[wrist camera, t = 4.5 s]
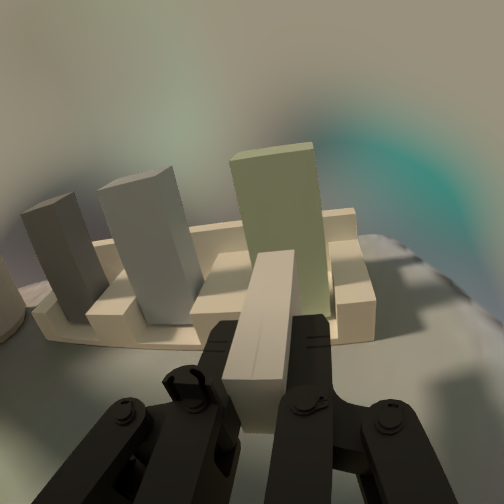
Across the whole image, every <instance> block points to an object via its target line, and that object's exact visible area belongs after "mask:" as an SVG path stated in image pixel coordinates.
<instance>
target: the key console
mask: <svg viewBox="0 0 504 504" xmlns="http://www.w3.org/2000/svg"><path fill="white" fill-rule="evenodd" d="M322 217H323V226H324V236H325V247H326V258H327V270H328V283H329V297H330V314H331V316H330V317H325V318H326V319H327V321H328V322H329V323H330V339H331V345H339V344H349V343H359V342H368V341H374V334H375V319H376V297H375V294H374V290H373V287H372V284H371V280H370V277H369V274H368V270H367V267H366V264H365V261H364V258H363V255H362V252H361V249H360V246H359V243H358V240H357V223H356V213H355V210H354V208H345V209H336V210H326V211H322ZM189 230H190V234H191V237H192V241H193V244H194V247H195V251H196V254H197V258H198V261H199V264H200V268H201V271H202V274H203V278H204V281H205V282H204V284H203V286H202V288H201V290H200V293H199V295H198V297H197V299H196V301H195V303H194V305H193V307H192V309H191V311H190V313H189V315H190V317H191V320H192V323H193V324H148V322H147V320H146V318H145V316H144V314H143V311H142V309H141V307H140V305H139V302H138V300H137V298H136V296H135V293H134V291H133V288H132V286H131V284H130V281H129V279H128V276H127V274H126V272H125V269H124V267H123V264H122V261H121V259H120V256H119V254H118V251H117V248H116V246H115V243H114V240H113V239H107V240H101V241H95V242H92V244H93V246H94V249H95V251H96V254H97V256H98V259H99V261H100V264H101V266H102V268H103V271H104V273H105V276H106V278H107V280H108V282H109V285H110V286H109V287H108V288H107V289H106V290H105V292H104V293H103V294H102V295H101V296H100V297H99V299H98V300H97V301H96V302H95V303H94V305H93V306H92V307H91V308H90V309H89V311H88V312H87V313H86V314H85V315H86V317H87V319H88V321H89V322H90V323H73V322H69V320H68V318H67V316H66V314H65V313H64V311H63V309H62V307H61V305H60V303H59V301H58V299H57V297H56V295H55V293H54V291H52V292H51V293H50V294H49V295H48V296H47V297H46V298H45V299H44V300H43V301H42V302H41V303H40V304H39V305H38V306H37V307H36V308H35V309H34V310H33V311H32V312H31V314H32V316H33V317H34V319H35V321H36V323H37V324H38V326H39V328H40V329H41V331H42V333H43V334H44V336H45V338H46V339H47V340H50V341H58V342H67V343H76V344H86V345H97V346H109V347H124V348H141V349H164V350H204V347H205V344H207V339H208V336H209V334H210V331H211V330H212V329H213V328H214V327H215V325H216V324H217V323H218V322H219V321H223V320H239V317H240V314H241V310H242V307H243V304H244V300H245V297H246V293H247V290H248V286H249V283H250V279H251V276H252V272H253V270H252V265H251V261H250V256H249V252H248V247H247V242H246V238H245V233H244V229H243V224H242V220H239V221H232V222H224V223H216V224H209V225H202V226H194V227H189Z"/></svg>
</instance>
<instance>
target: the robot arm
mask: <svg viewBox="0 0 504 504" xmlns="http://www.w3.org/2000/svg"><path fill="white" fill-rule="evenodd" d="M301 309H302V302H301V294H300V286H299V279H298V271H297V264H296V257H295V250H284V251H273V252H263V253H258V255H257V258H256V262H255V265H254V269H253V272H252V276H251V279H250V283H249V286H248V290H247V293H246V297H245V300H244V304H243V307H242V310H241V314H240V317H239V320H223V321H219V322H218V323H217V324H216V325H215V327H214V328H213V329H212V330H211V331H210V334H209V336H208V339H207V344H205V347H204V350H203V353H202V355H201V358H200V360H199V363H198V366H196V365H185V366H181V367H179V368H176V369H174V370H172V371H171V372H170V373H168V374H167V375H166V376H165V378H164V379H163V381H162V383H163V385H164V387H165V388H166V390H167V392H168V393H169V395H170V397H171V398H172V400H173V401H172V402H169V403H165V404H160V405H154V406H148V407H145V405H144V404H143V402H141V401H140V400H138V399H136V398H131V397H129V398H123V399H120V400H118V401H116V402H115V403H114V404H113V405H111V406H110V407H109V408H108V410H107V411H106V412H105V413H104V415H103V416H102V417H101V418H100V419H99V421H98V422H97V423H96V424H95V425H94V427H93V428H92V429H91V430H90V432H89V433H88V434H87V435H86V436H85V438H84V439H83V440H82V441H81V443H80V444H79V445H78V446H77V447H76V449H75V450H74V451H73V452H72V454H71V455H70V456H69V457H68V459H67V460H66V461H65V462H64V463H63V465H62V466H61V467H60V468H59V470H58V471H57V472H56V473H55V475H54V476H53V477H52V478H51V480H50V481H49V482H48V483H47V485H46V486H45V487H44V488H43V489H42V491H41V492H40V493H39V494H38V496H37V497H36V498H35V499H34V501H33V502H32V503H31V504H229V501H230V496H231V492H232V487H233V483H234V478H235V474H236V469H237V464H238V459H239V455H240V450H241V442H240V440H239V438H238V435H239V430H240V426H241V427H242V429H243V431H244V433H265V434H275V435H274V442H273V449H272V455H271V462H270V469H269V475H268V481H267V487H266V494H265V500H264V504H331V490H332V469H336V470H340V471H344V472H349V473H353V474H356V477H357V480H358V483H359V487H360V490H361V493H362V496H363V500H364V503H365V504H458V502H457V500H456V498H455V495H454V493H453V491H452V488H451V486H450V484H449V482H448V479H447V477H446V475H445V473H444V471H443V468H442V466H441V464H440V462H439V460H438V458H437V456H436V453H435V451H434V449H433V447H432V445H431V443H430V441H429V439H428V437H427V435H426V433H425V431H424V429H423V427H422V425H421V423H420V421H419V419H418V417H417V415H416V413H415V411H414V410H413V409H412V408H411V407H410V405H408V404H406V403H405V402H403V401H401V400H394V399H387V400H381V401H379V402H377V403H375V404H373V405H371V406H370V407H364V406H358V405H354V404H350V403H347V402H346V401H344V400H342V399H341V398H340V397H339V396H338V395H337V394H336V393H335V391H334V389H333V384H332V361H331V339H330V323H329V322H328V321H327V319H326V318H325V316H324V315H323V314H313V315H301Z"/></svg>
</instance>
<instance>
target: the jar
mask: <svg viewBox="0 0 504 504" xmlns="http://www.w3.org/2000/svg"><path fill="white" fill-rule="evenodd" d="M25 309H26V304H25V302H24V300H23V299H22V297H21V295H20V293H19V291H18V289H17V287H16V285H15V283H14V281H13V279H12V277H11V275H10V273H9V271H8V268H7V266H6V264H5V262H4V260H3V257H2V255H1V253H0V343H2V342H4V341H5V340H7V339H8V338H9V337H10V336H12V335H13V334H14V333H15V332H16V331H17V330H18V328H19V327H20V326H21V324H22V323H23V320H24V316H25Z"/></svg>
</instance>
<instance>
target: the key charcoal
mask: <svg viewBox="0 0 504 504" xmlns="http://www.w3.org/2000/svg"><path fill="white" fill-rule="evenodd" d="M21 217H22V220H23V223H24V225H25V228H26V230H27V233H28V236H29V238H30V241H31V243H32V245H33V248H34V250H35V253H36V255H37V257H38V260H39V262H40V264H41V266H42V268H43V271H44V273H45V275H46V277H47V279H48V281H49V283H50V285H51V287H52V289H53V291H54V293H55V295H56V297H57V299H58V301H59V303H60V305H61V307H62V309H63V311H64V313H65V314H66V316H67V318H68V320H69V322H73V323H90V322H89V321H88V319H87V317H86V315H85V314H86V313H87V312H88V311H89V309H90V308H91V307H92V306H93V305H94V303H95V302H96V301H97V300H98V299H99V297H100V296H101V295H102V294H103V293H104V292H105V290H106V289H107V288H108V287H109V286H110V285H109V282H108V280H107V278H106V276H105V273H104V271H103V268H102V266H101V264H100V261H99V259H98V256H97V254H96V251H95V249H94V246H93V244H92V241H91V239H90V236H89V233H88V231H87V228H86V225H85V222H84V220H83V217H82V214H81V211H80V208H79V205H78V202H77V199H76V196H75V193H74V192H71V193H67V194H64V195H61V196H58V197H55V198H52V199H49V200H46V201H43V202H40V203H39V204H37V205H35V206H33V207H32V208H30V209H28V210H27V211H25V212H23V213H22V214H21Z"/></svg>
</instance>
